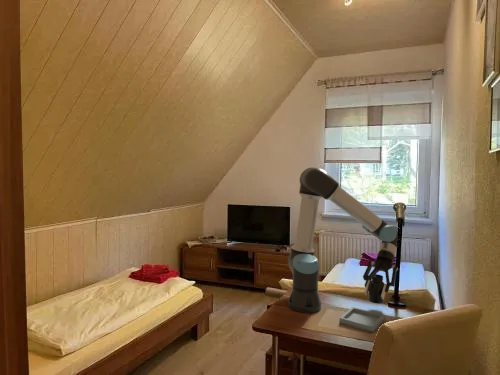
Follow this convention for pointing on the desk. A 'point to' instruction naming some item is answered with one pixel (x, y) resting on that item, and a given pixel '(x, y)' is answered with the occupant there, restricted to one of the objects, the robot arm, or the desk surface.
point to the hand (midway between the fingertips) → (373, 295)
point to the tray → (362, 319)
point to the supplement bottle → (376, 289)
